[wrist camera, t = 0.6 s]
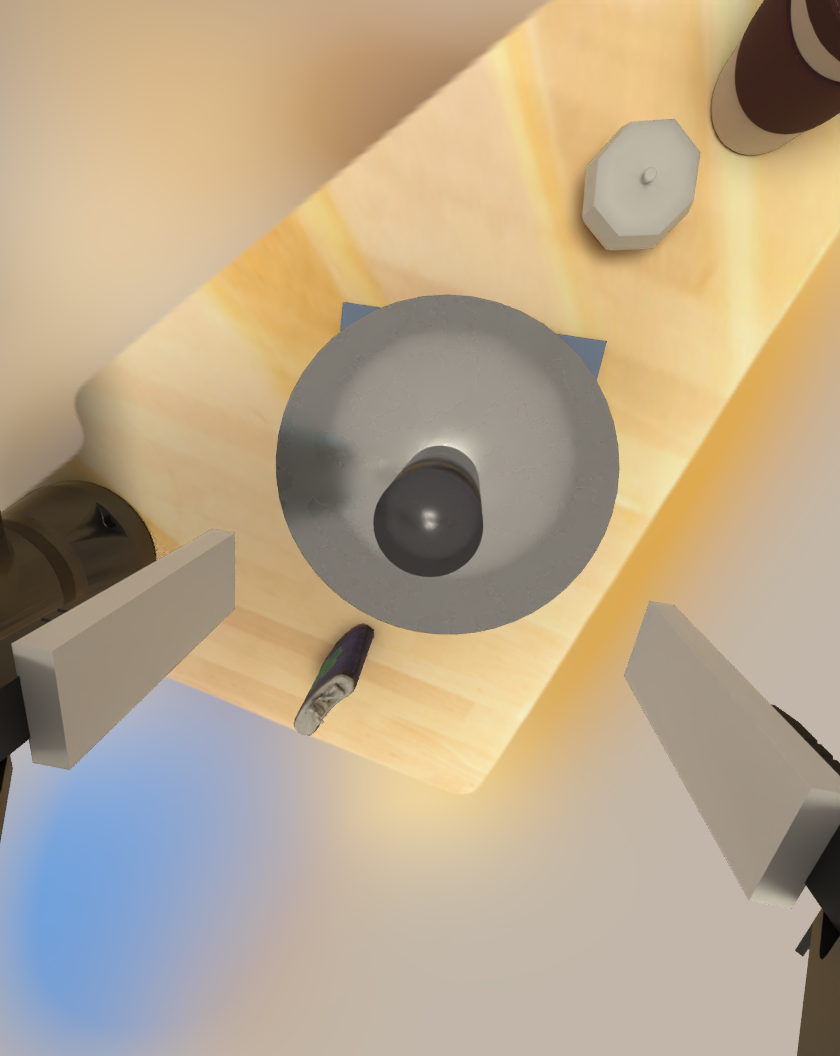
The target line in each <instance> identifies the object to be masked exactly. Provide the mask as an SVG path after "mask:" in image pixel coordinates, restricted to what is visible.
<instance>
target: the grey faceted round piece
mask: <svg viewBox="0 0 840 1056" xmlns="http://www.w3.org/2000/svg"><path fill="white" fill-rule="evenodd" d="M699 159H700V151H699V150H698V149H697V147H696V146H695V145H694V143H693V142H692V141H691V140H690V138H689V137H688V136H687V134H686V133H685V132H684V130H683V129H682V128H681V127H680V125H679V124H678V123H677V121H676V120H675V119H667V120H653V121H639V122H630V123H628V124H627V125H625V126H623V127H621V128H620V129H619V131H618V132H617V133H616V134H615V135H614V136H613V137H612V138H611V140H610V141H609V142H608V143H607V144H606V145H605V146H604V147H603V149H602V150H601V151H600V152H599V153H598V154H597V155H596V156H595V158H594V159H593V160H592V161H591V162H590V163H589V164H588V165H587V167H586V176H585V189H584V201H583V213H582V218H583V221H584V223H585V225H586V226H587V227H588V228H589V230H590V231H591V232H592V233H593V235H594V236H595V237H596V238H597V240H598V241H599V242H600V243H601V245H602V246H603V247H604V248H605V249H606V250H638V249H652V248H653V247H654V246H655V245H656V244H657V243H658V242H659V241H660V240H661V239H662V238H663V237H664V236H665V235H666V234H667V233H668V232H669V231H670V230H671V229H672V228H673V227H674V226H675V225H676V224H677V223H678V222H679V221H680V220H681V219H682V218H683V217H684V216H685V215H686V214H687V213H688V212H689V210H690V207H691V205H692V202H693V199H694V192H695V185H696V179H697V172H698V165H699Z"/></svg>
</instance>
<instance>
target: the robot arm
mask: <svg viewBox="0 0 840 1056" xmlns="http://www.w3.org/2000/svg"><path fill="white" fill-rule="evenodd" d="M234 609H235V533H233V532H227V531H221V530H215V529H211V530H209V531H208V532H206V533H204V534H202V535H201V536H199V537H197V538H195V539H194V540H192V541H190V542H188V543H187V544H185V545H183V546H181V547H180V548H178V549H176V550H174V551H173V552H171V553H169V554H167V555H166V556H164V557H162V558H160V559H159V560H157V561H155V553H154V548H153V544H152V540H151V538H150V535H149V533H148V531H147V529H146V527H145V525H144V523H143V522H142V520H141V519H140V517H139V516H138V515H137V514H136V512H135V511H134V510H133V509H132V508H131V507H130V506H129V505H128V504H127V503H126V502H125V501H124V500H122V499H121V498H120V497H118V496H117V495H116V494H114V493H112V492H111V491H109V490H107V489H105V488H103V487H101V486H98V485H95V484H92V483H88V482H82V481H66V482H61V483H56V484H52V485H48V486H44V487H41V488H39V489H36V490H34V491H32V492H30V493H29V494H27V495H26V496H25V497H24V498H22V499H21V500H19V501H17V502H16V503H14V504H13V505H11V506H10V507H8V508H7V509H5V510H4V511H2V512H0V840H1V834H2V829H3V823H4V817H5V811H6V805H7V799H8V793H9V787H10V781H11V775H12V769H13V767H12V762H11V758H10V754H11V753H12V752H14V751H15V750H16V749H17V748H18V747H20V746H21V745H22V744H23V743H25V742H26V741H27V740H28V739H29V743H30V749H31V755H32V760H33V763H36V764H41V765H46V766H52V767H57V768H62V769H67V770H70V769H71V768H72V767H73V766H74V765H75V764H77V763H78V762H79V761H80V759H82V757H84V756H85V755H86V754H87V753H88V752H89V751H90V750H91V749H92V748H93V747H94V746H95V745H96V744H97V743H98V742H99V741H100V740H101V739H102V738H103V737H104V736H105V735H106V734H107V733H108V732H109V731H110V730H111V729H112V728H113V727H114V726H115V725H116V724H117V723H118V722H119V721H121V720H122V719H123V718H124V717H125V716H126V715H127V714H128V713H129V712H130V711H131V710H132V709H133V708H134V707H135V706H136V705H137V704H138V703H139V702H140V701H141V700H142V699H143V698H144V697H145V696H146V695H147V694H148V693H149V692H150V691H151V690H152V689H153V688H154V687H155V686H156V685H157V684H158V683H159V682H160V681H161V680H162V679H163V678H164V677H165V676H167V675H168V674H169V673H170V672H171V671H172V670H173V669H174V668H175V667H176V666H177V665H178V664H179V663H180V662H181V661H182V660H183V659H184V658H185V657H186V656H187V655H188V654H189V653H190V652H191V651H192V650H193V649H194V648H195V647H196V646H197V645H198V644H199V643H200V642H201V641H202V640H203V639H204V638H205V637H206V636H207V635H208V634H209V633H210V632H211V631H213V630H214V629H215V628H216V627H217V626H218V625H219V624H220V623H221V622H222V621H223V620H224V619H225V618H226V617H227V616H228V615H229V614H230V613H231V612H232V611H233V610H234ZM624 677H625V679H626V680H627V682H628V684H629V686H630V688H631V690H632V691H633V693H634V695H635V697H636V698H637V700H638V702H639V704H640V706H641V708H642V709H643V711H644V713H645V715H646V717H647V718H648V720H649V722H650V724H651V726H652V727H653V729H654V731H655V733H656V735H657V736H658V738H659V740H660V742H661V744H662V745H663V747H664V749H665V751H666V753H667V754H668V756H669V758H670V760H671V762H672V763H673V765H674V767H675V769H676V770H677V772H678V774H679V776H680V778H681V780H682V781H683V783H684V785H685V787H686V789H687V790H688V792H689V794H690V796H691V797H692V799H693V801H694V803H695V805H696V806H697V808H698V810H699V812H700V813H701V815H702V817H703V819H704V821H705V823H706V825H707V826H708V828H709V830H710V832H711V833H712V835H713V837H714V839H715V840H716V842H717V844H718V846H719V848H720V850H721V851H722V853H723V855H724V857H725V859H726V860H727V862H728V864H729V866H730V868H731V869H732V871H733V873H734V875H735V877H736V878H737V880H738V882H739V884H740V886H741V887H742V889H743V891H744V893H745V894H746V896H747V898H748V900H749V901H753V902H758V903H763V904H768V905H773V906H779V907H784V908H789V909H792V907H793V906H794V904H795V902H796V901H797V899H798V897H799V896H800V894H801V893H802V891H803V889H804V887H805V886H807V887H808V889H809V890H810V892H811V893H812V895H813V896H814V898H815V899H816V900H817V902H818V903H819V905H820V906H821V908H822V909H821V911H820V912H819V913H818V915H817V917H816V918H815V920H814V921H813V923H812V924H811V926H810V928H809V929H808V931H807V933H806V934H805V936H804V937H803V939H802V940H801V942H800V943H799V945H798V947H797V948H796V950H795V951H796V952H798V953H799V954H800V955H802V956H804V954H805V953H806V951H807V950H808V949H810V951H809V959H808V968H807V977H806V986H805V993H804V1001H803V1010H802V1018H801V1027H800V1036H799V1044H798V1052H797V1056H840V763H839V762H838V761H837V760H833V756H832V755H831V754H830V753H829V752H828V751H827V750H826V749H825V748H824V747H823V746H822V745H821V744H818V743H817V740H816V739H815V738H814V737H813V736H812V735H811V734H810V733H809V732H808V731H807V730H806V729H805V728H804V727H803V726H802V725H801V724H800V723H799V722H798V721H796V720H795V719H793V718H792V717H791V716H789V715H788V714H786V713H785V712H784V711H782V710H781V709H779V708H778V707H776V706H775V705H771V704H770V703H769V702H768V701H767V700H766V699H765V698H764V697H763V696H762V695H761V694H760V693H759V692H758V691H757V690H756V689H755V688H754V687H753V686H752V685H751V684H750V683H749V682H748V681H747V680H746V679H745V677H744V676H743V675H742V674H741V673H740V672H739V671H738V670H737V669H736V668H735V667H734V666H733V665H732V664H731V663H730V662H729V661H728V660H727V659H726V658H725V657H724V656H723V655H722V654H721V653H720V652H719V651H718V650H717V649H716V648H715V646H714V645H713V644H712V643H711V642H710V641H709V640H708V639H707V638H706V637H705V636H704V635H703V634H702V633H701V632H700V631H699V630H698V629H697V628H696V627H695V626H694V625H693V624H692V623H691V622H690V621H689V620H688V618H687V617H685V615H684V614H683V613H682V612H681V611H680V610H679V609H678V608H677V607H676V606H675V605H670V604H664V603H658V602H652V601H649V604H648V607H647V609H646V613H645V615H644V619H643V621H642V624H641V627H640V630H639V633H638V636H637V639H636V642H635V645H634V648H633V651H632V654H631V657H630V659H629V662H628V666H627V668H626V671H625V674H624Z"/></svg>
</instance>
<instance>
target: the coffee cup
mask: <svg viewBox="0 0 840 1056" xmlns="http://www.w3.org/2000/svg"><path fill="white" fill-rule="evenodd" d="M711 108H712V121H713V125H714V129H715V131H716V133H717V135H718V137H719V138H720V140H721V141H722V142H723V144H724V145H726V146H727V147H728V148H730V149H731V150H733V151H735V152H738V153H741V154H745V155H758V154H763V153H767V152H770V151H773V150H775V149H777V148H779V147H781V146H783V145H784V144H786V143H788V142H789V141H791V140H792V139H794V138H795V137H797V136H798V135H800V134H801V133H803V132H804V131H807V130H810V129H812V128H815V127H817V126H819V125H821V124H822V123H824V122H826V121H828V120H829V119H831V118H832V117H834V116H835V115H837V114H839V113H840V0H764V2H763V3H762V5H761V6H760V8H759V9H758V11H757V12H756V14H755V15H754V17H753V18H752V20H751V22H750V24H749V26H748V28H747V30H746V32H745V34H744V36H743V38H742V40H741V42H740V43H739V45H738V46H737V48H736V49H735V51H734V52H733V54H732V55H731V57H730V58H729V60H728V61H727V63H726V64H725V66H724V68H723V69H722V71H721V73H720V76H719V78H718V80H717V83H716V86H715V89H714V93H713V98H712V107H711Z"/></svg>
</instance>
